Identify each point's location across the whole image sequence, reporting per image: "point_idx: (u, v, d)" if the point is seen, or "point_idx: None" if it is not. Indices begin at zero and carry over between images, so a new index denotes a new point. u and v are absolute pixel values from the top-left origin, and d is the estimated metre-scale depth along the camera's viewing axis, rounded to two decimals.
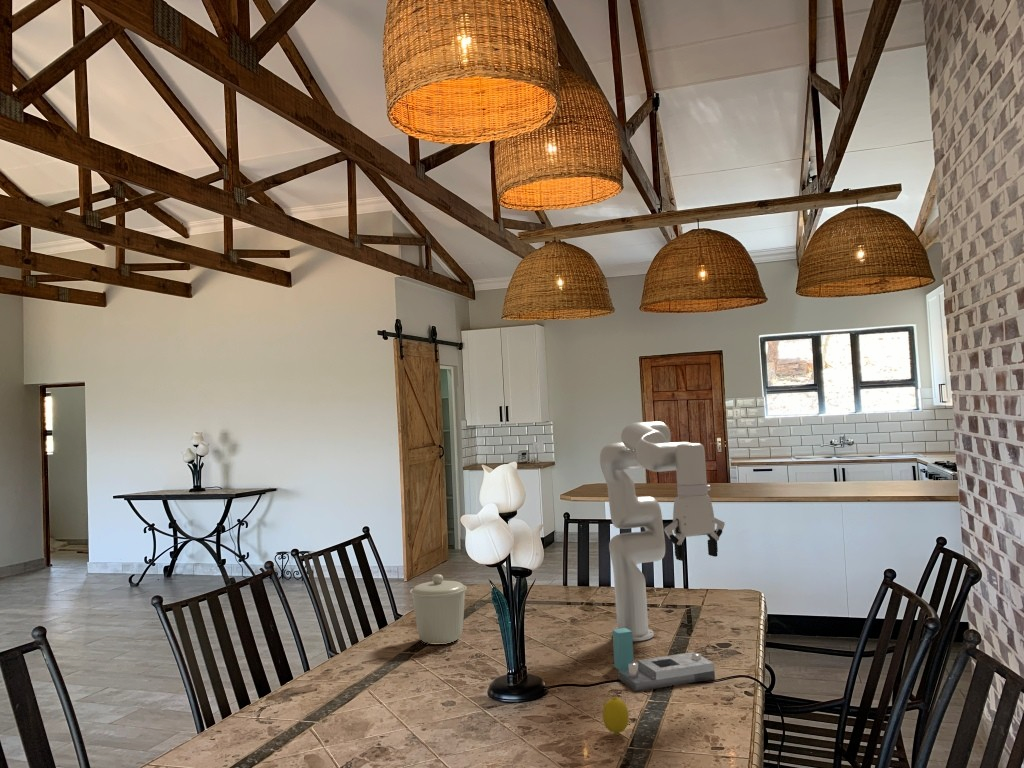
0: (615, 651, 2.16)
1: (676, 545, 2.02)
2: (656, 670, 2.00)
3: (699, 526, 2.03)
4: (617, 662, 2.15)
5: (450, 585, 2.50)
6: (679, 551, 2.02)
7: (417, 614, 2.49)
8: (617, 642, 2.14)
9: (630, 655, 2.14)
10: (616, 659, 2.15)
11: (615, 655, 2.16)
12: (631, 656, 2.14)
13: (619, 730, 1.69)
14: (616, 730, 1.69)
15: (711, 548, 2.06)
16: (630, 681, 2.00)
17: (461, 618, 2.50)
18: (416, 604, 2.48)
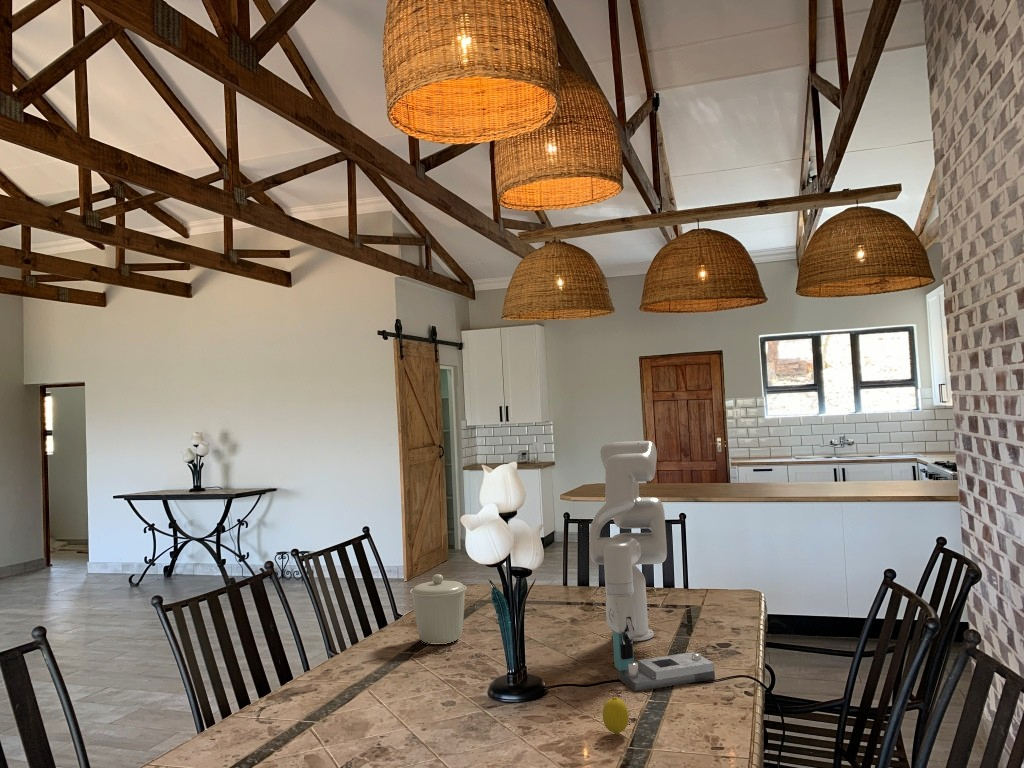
0: (615, 651, 2.16)
1: (628, 645, 2.13)
2: (656, 670, 2.00)
3: None
4: (617, 662, 2.15)
5: (450, 585, 2.50)
6: None
7: (417, 614, 2.49)
8: (617, 641, 2.14)
9: None
10: (616, 659, 2.15)
11: (615, 655, 2.16)
12: None
13: (619, 730, 1.69)
14: (616, 730, 1.69)
15: None
16: (630, 681, 2.00)
17: (461, 618, 2.50)
18: (416, 604, 2.48)
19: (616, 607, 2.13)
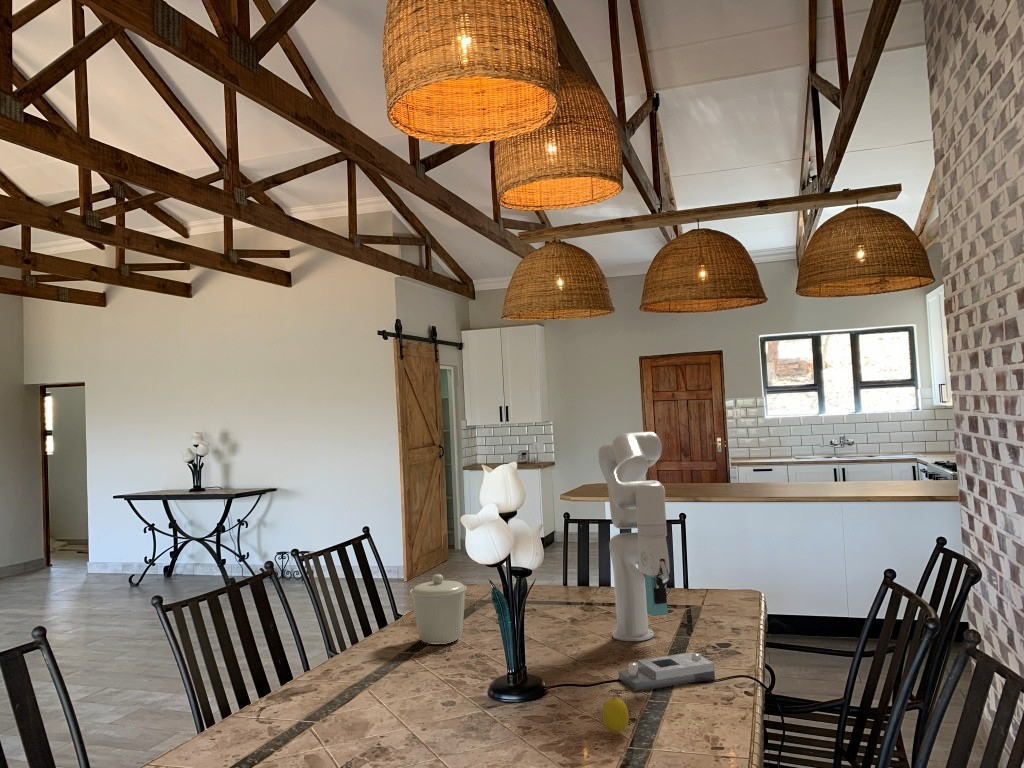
0: (648, 596, 2.07)
1: (662, 588, 2.04)
2: (656, 670, 2.00)
3: None
4: (650, 607, 2.06)
5: (450, 585, 2.50)
6: None
7: (417, 614, 2.49)
8: (650, 586, 2.05)
9: None
10: (649, 604, 2.06)
11: (648, 600, 2.07)
12: None
13: (619, 730, 1.69)
14: (616, 730, 1.69)
15: None
16: (630, 681, 2.00)
17: (461, 618, 2.50)
18: (416, 604, 2.48)
19: (649, 549, 2.04)
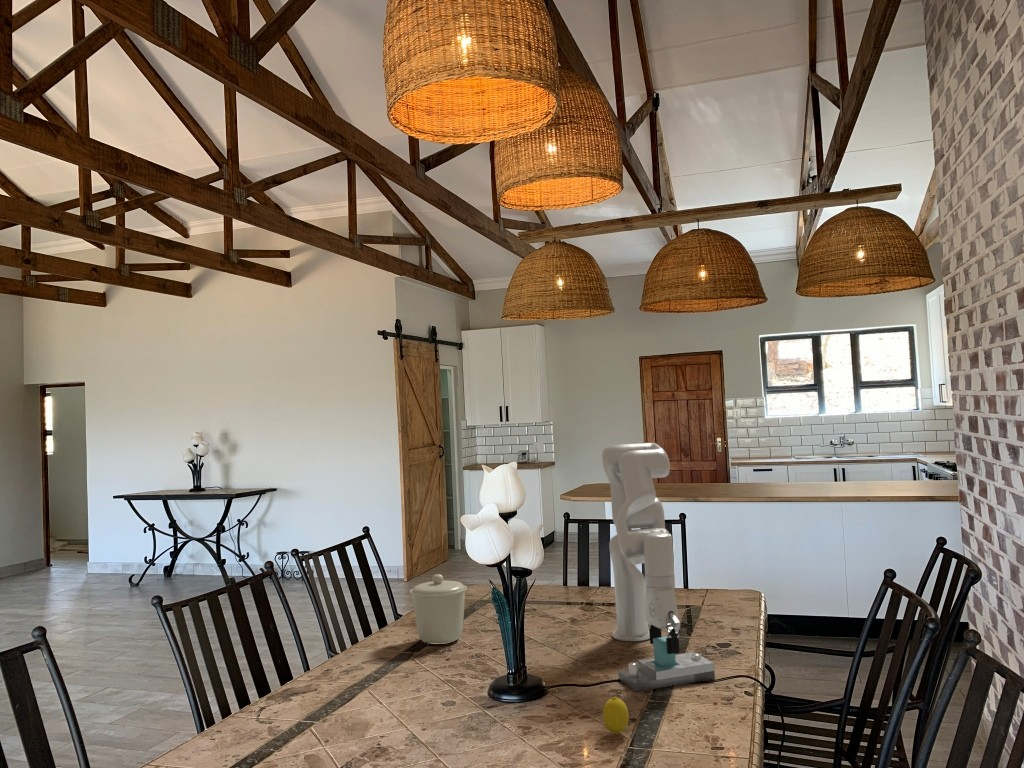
0: (657, 661, 2.05)
1: (675, 638, 2.00)
2: (656, 670, 2.00)
3: None
4: None
5: (450, 585, 2.50)
6: None
7: (417, 614, 2.49)
8: (659, 651, 2.04)
9: (673, 665, 2.04)
10: None
11: None
12: None
13: (619, 730, 1.69)
14: (616, 730, 1.69)
15: (656, 636, 2.10)
16: (630, 681, 2.00)
17: (461, 618, 2.50)
18: (416, 604, 2.48)
19: (657, 601, 2.02)
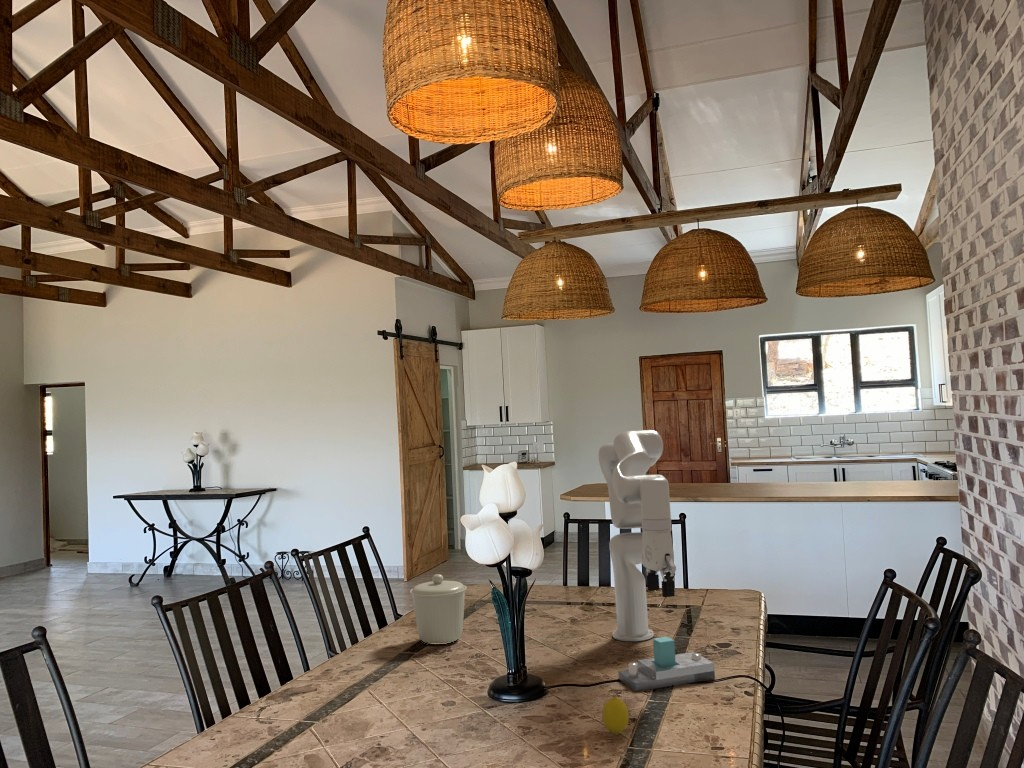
0: (657, 661, 2.05)
1: (670, 582, 2.01)
2: (656, 670, 2.00)
3: None
4: None
5: (450, 585, 2.50)
6: None
7: (417, 614, 2.49)
8: (659, 651, 2.04)
9: (673, 665, 2.04)
10: None
11: None
12: None
13: (619, 730, 1.69)
14: (616, 730, 1.69)
15: (654, 583, 2.10)
16: (630, 681, 2.00)
17: (461, 618, 2.50)
18: (416, 604, 2.48)
19: (654, 544, 2.03)
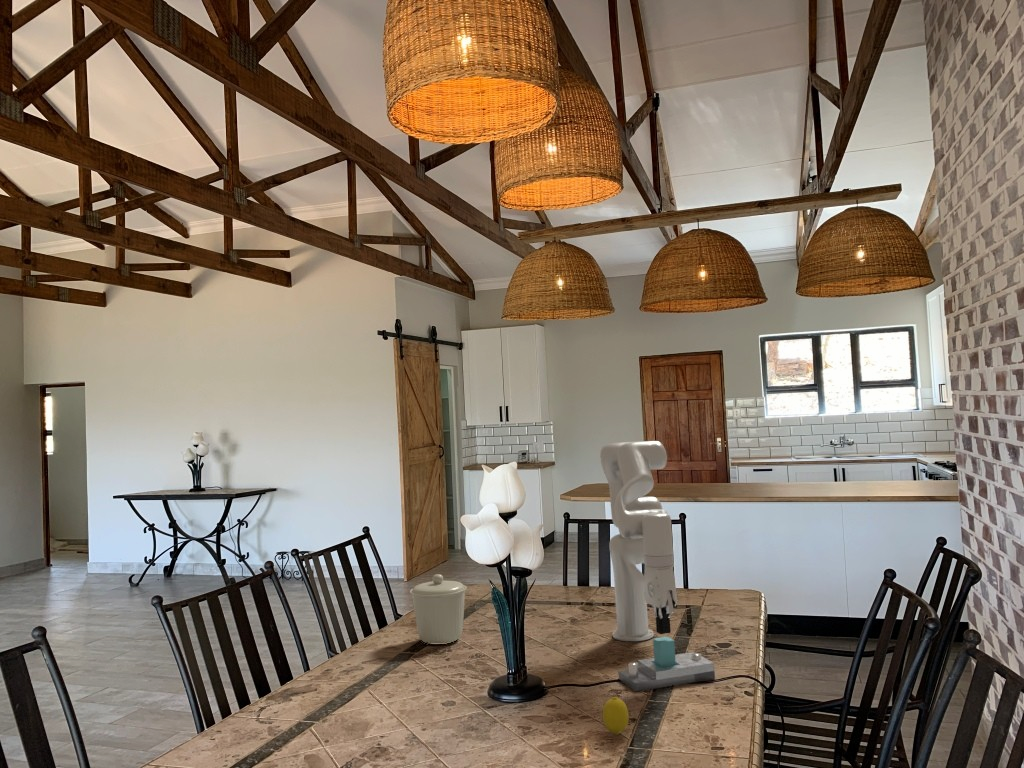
0: (657, 661, 2.05)
1: (666, 619, 2.04)
2: (656, 670, 2.00)
3: None
4: None
5: (450, 585, 2.50)
6: None
7: (417, 614, 2.49)
8: (659, 651, 2.04)
9: (673, 665, 2.04)
10: None
11: None
12: None
13: (619, 730, 1.69)
14: (616, 730, 1.69)
15: None
16: (630, 681, 2.00)
17: (461, 618, 2.50)
18: (416, 604, 2.48)
19: (656, 580, 2.02)
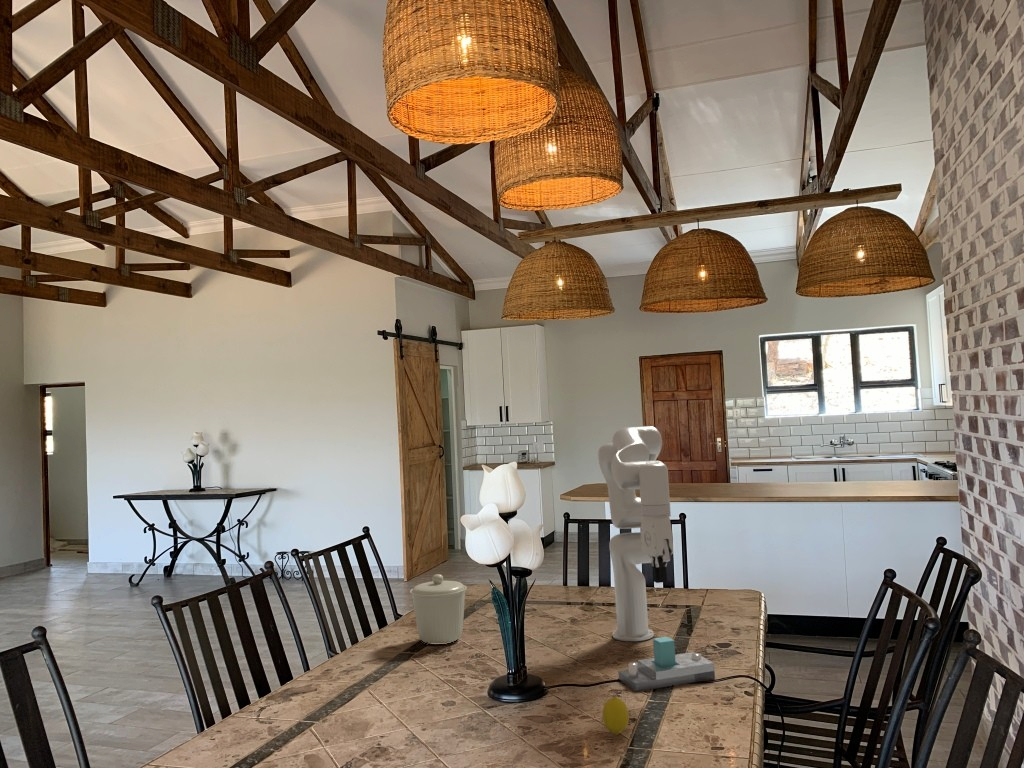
0: (657, 661, 2.05)
1: (662, 567, 2.05)
2: (656, 670, 2.00)
3: None
4: None
5: (450, 585, 2.50)
6: None
7: (417, 614, 2.49)
8: (659, 651, 2.04)
9: (673, 665, 2.04)
10: None
11: None
12: None
13: (619, 730, 1.69)
14: (616, 730, 1.69)
15: None
16: (630, 681, 2.00)
17: (461, 618, 2.50)
18: (416, 604, 2.48)
19: (653, 529, 2.03)
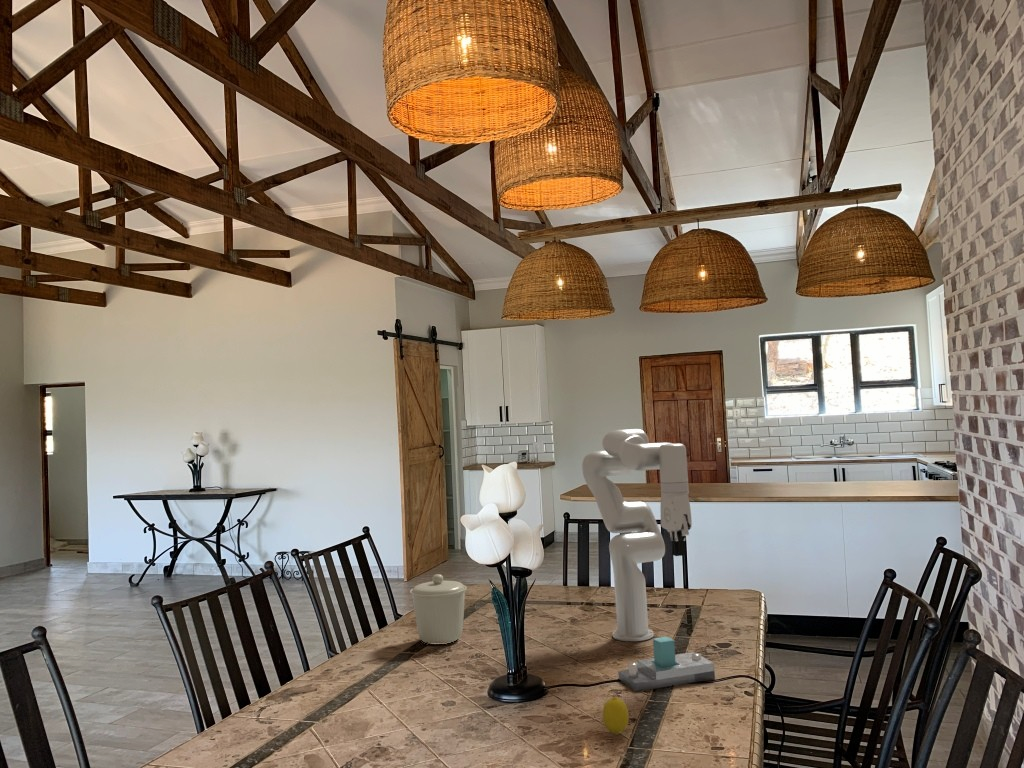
0: (656, 661, 2.05)
1: (681, 541, 2.18)
2: (656, 670, 2.00)
3: None
4: None
5: (450, 585, 2.50)
6: None
7: (417, 614, 2.49)
8: (659, 651, 2.04)
9: (673, 665, 2.04)
10: None
11: None
12: None
13: (619, 730, 1.69)
14: (616, 730, 1.69)
15: None
16: (630, 681, 2.00)
17: (461, 618, 2.50)
18: (416, 604, 2.48)
19: (672, 505, 2.16)
